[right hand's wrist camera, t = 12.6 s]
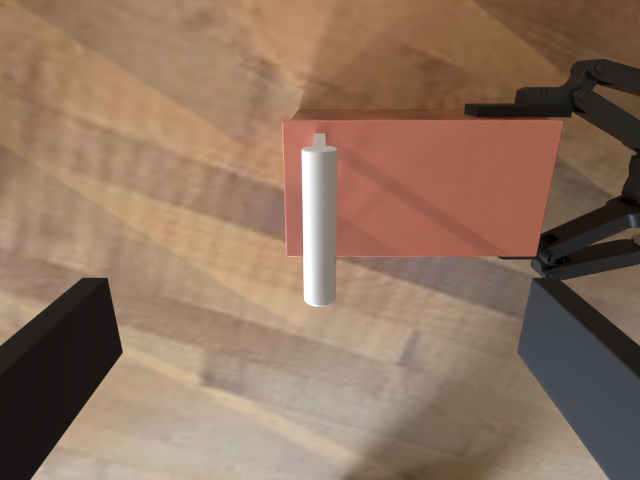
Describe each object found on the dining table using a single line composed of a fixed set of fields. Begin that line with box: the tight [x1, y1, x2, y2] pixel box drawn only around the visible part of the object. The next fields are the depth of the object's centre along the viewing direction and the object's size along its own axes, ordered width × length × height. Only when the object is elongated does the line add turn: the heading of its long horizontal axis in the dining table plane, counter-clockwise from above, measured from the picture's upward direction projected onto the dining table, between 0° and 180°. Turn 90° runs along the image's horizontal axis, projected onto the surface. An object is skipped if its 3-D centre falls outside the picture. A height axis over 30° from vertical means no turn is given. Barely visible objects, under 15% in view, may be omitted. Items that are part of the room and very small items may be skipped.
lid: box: [282, 120, 564, 306], centre depth 24 cm, size 18×9×9 cm, turn 90°
